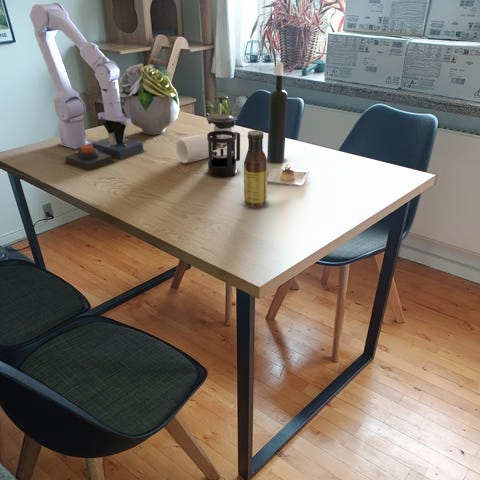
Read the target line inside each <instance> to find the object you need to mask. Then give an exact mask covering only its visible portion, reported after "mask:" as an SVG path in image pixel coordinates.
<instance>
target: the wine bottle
mask: <svg viewBox="0 0 480 480" xmlns="http://www.w3.org/2000/svg"><path fill="white" fill-rule="evenodd" d="M284 65H285V63H284V62H276V67H275V68H276V71H275V89H274V90H272V91H271V92H270V94H269V100H268V101H269V103H268V125H267V133H268V134H267V151H266V152H267V153H266V158H267V162H269V163H273V164H279V163H283V162H285V150H286V149H285V147H286V132H287V131H286V130H287V113H288V96H289V95H288V93H287V92H286V90H284V89H283V78H284V77H283V76H284Z"/></svg>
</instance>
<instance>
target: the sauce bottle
mask: <svg viewBox="0 0 480 480" xmlns="http://www.w3.org/2000/svg"><path fill="white" fill-rule="evenodd" d="M247 139H248V143H247V144H248V148H247V152H246V156H245V158H244V161H243V192H244V193H243V196H244V197H243V198H244V204H245V205H246V206H247V207H250V208H254V209H258V208H262V207H265V206H266V204H267V199H268V197H267V193H268V182H267V177H268V166H267V164H268V161H267V155H266V153H265V152H264V151H263V148H264V147H263V145H264V143H263V142H264V141H263V139H264V132H263V131H262V130H255V129H254V130H249V131H248V132H247Z"/></svg>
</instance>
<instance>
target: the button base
mask: <svg viewBox="0 0 480 480" xmlns="http://www.w3.org/2000/svg"><path fill="white" fill-rule="evenodd" d="M64 158H65V163H66V164H69V165H72V166H75V167H78V168H82V169H85V170H88V171H91V170H95V169H96V168H97V169H98V168H100V167H103V166H106V165H108V164H111V163H113V162H114V161H113V157H112V156H111V155H107V154H104V153H100V152H98V150H97V149H96V148H93V152H89V153H83V152H82V149H81V148H78V150H76V152H74V153H72V154H68V155H66V156H64Z"/></svg>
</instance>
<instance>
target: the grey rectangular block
mask: <svg viewBox="0 0 480 480" xmlns="http://www.w3.org/2000/svg"><path fill="white" fill-rule="evenodd" d="M107 135H108V138H109V141H110V144H111V145H116V144H117V142H116V138H115V134H114V132H113V133H107ZM125 139H126V137H125V134H124V135H123V142H125Z"/></svg>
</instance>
